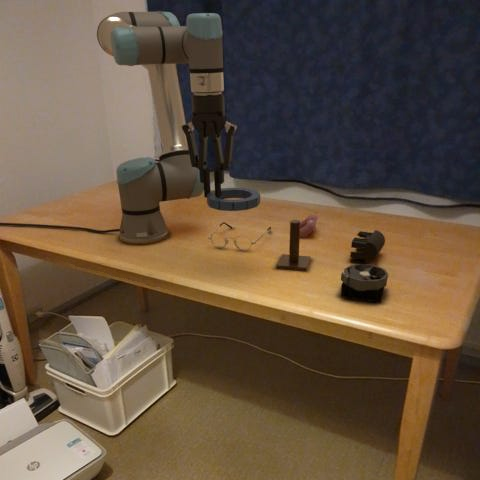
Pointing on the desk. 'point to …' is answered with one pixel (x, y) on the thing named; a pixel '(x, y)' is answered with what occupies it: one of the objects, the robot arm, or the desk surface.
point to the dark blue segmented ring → (248, 202)
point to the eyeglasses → (234, 238)
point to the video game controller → (308, 225)
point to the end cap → (367, 247)
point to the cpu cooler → (363, 282)
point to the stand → (294, 251)
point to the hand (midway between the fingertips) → (212, 195)
